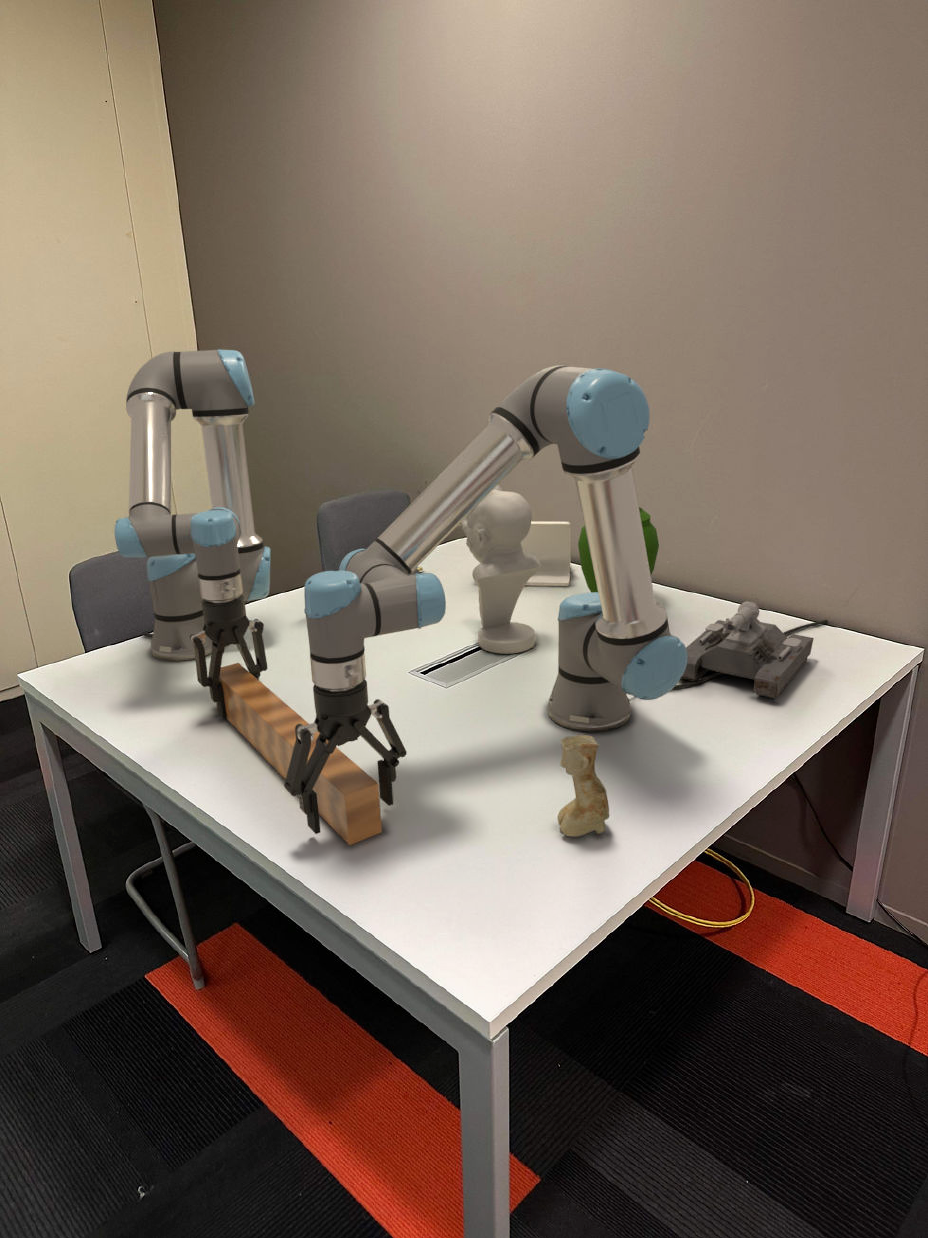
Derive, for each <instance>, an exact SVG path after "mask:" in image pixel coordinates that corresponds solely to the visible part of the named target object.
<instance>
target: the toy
mask: <svg viewBox="0 0 928 1238" xmlns="http://www.w3.org/2000/svg"><path fill="white" fill-rule="evenodd" d="M759 607H760V606H759V605H757V604H756V602H754V601H748V600H745V601H744V602H742V603H740V604H739V606H738V608H737V612H736V613H734V615H733V616H732V617H731V618H729V617H727V618H725V620H722V619H718V620H716V621H715V622H714V623H710V624H709V625H708V626H706V627H705V631H703V632H702V633H701V634H700V635H699V636H697V638H695V639H694V640H693V641H692V642H691V643H690V644H688V645H687V646H685V647H686V649H687V655H688V659H687V665H686V669H685V671H684V673H683V675H682V677H681V678H680V680H686V681H689V682H693V681H696V680H699V679H702V678H703V676H705V674H706V673H707V672H709V671H712V672H715V673H716V672H720V673H722V674H726V675H730V676H734V677H739V678H745V679H748V680H754V682H753V692H752V693H753V694H755V695H757V696H762V697H764V698H765V697H766V698H769V699H770V698H771V699H775V700H777V698H778V697H779V696H780V695H781V694H782V692H783V691H784V690H785V688H787V686H788V685H789V684H790V682H791V681H792V680H793V679H794V678H795V676H796V675H797V674H798V672H800V670H801V669H802V668H803V666H804V665H805V664H806V663H807V661H808V658H809V656H810V655H811V653H812V648H813V644H814V637H810V636H806V635H801V634H795V633H790V634H791V635H789V637H788V636H786V635H785V634H784V631H783V630H781V629H780V628H779V627H778V626H777V625H776V624H773V623H768V622H763V621H760V620H759V619H758V618H759V615H760V608H759Z"/></svg>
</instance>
